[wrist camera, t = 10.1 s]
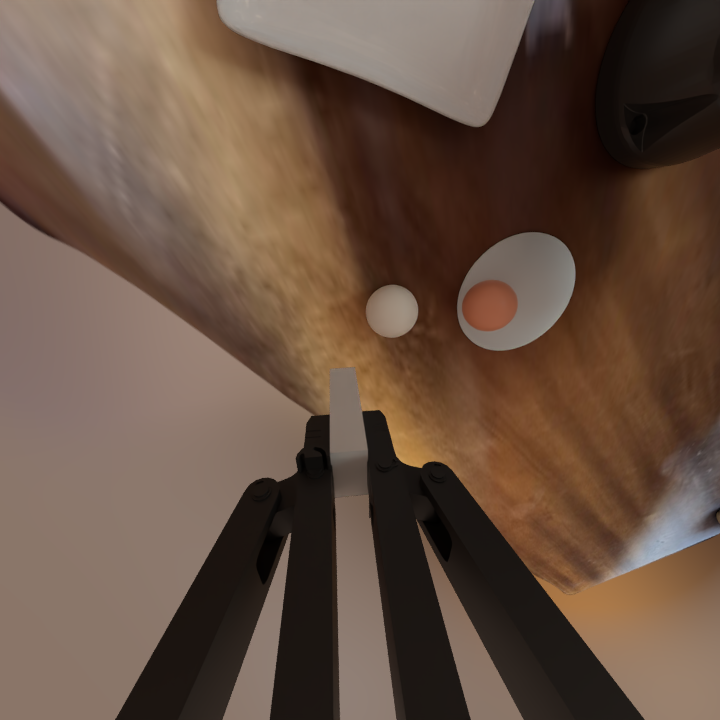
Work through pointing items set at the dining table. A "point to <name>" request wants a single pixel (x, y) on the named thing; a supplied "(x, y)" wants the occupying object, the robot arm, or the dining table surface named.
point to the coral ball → (489, 305)
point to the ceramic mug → (718, 516)
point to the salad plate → (398, 44)
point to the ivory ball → (392, 311)
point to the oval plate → (523, 287)
